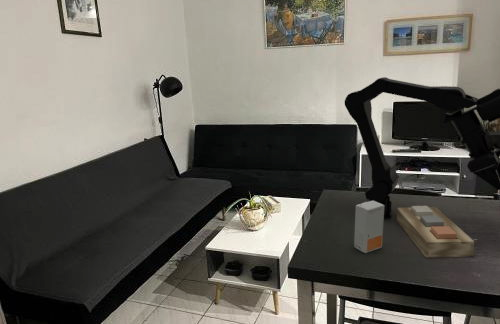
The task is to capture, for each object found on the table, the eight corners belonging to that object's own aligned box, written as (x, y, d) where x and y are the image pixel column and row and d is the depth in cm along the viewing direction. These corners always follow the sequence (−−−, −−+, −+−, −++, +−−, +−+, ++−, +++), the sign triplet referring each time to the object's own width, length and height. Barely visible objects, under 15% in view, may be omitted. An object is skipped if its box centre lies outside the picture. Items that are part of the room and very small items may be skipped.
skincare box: (365, 254, 95) (367, 210, 92) (353, 247, 99) (354, 204, 96) (383, 247, 98) (385, 204, 95) (370, 241, 102) (372, 199, 98)
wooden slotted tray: (426, 257, 92) (427, 242, 91) (396, 220, 113) (397, 207, 112) (472, 256, 92) (474, 241, 91) (434, 219, 113) (435, 206, 112)
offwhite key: (416, 219, 106) (416, 211, 106) (410, 213, 111) (411, 206, 110) (432, 218, 106) (433, 211, 106) (426, 212, 110) (426, 205, 110)
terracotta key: (437, 242, 93) (438, 234, 92) (430, 234, 97) (430, 226, 97) (456, 242, 93) (456, 233, 92) (447, 234, 97) (448, 226, 96)
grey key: (426, 230, 100) (426, 222, 99) (419, 223, 104) (420, 215, 103) (443, 229, 99) (444, 221, 99) (436, 222, 104) (437, 215, 103)
